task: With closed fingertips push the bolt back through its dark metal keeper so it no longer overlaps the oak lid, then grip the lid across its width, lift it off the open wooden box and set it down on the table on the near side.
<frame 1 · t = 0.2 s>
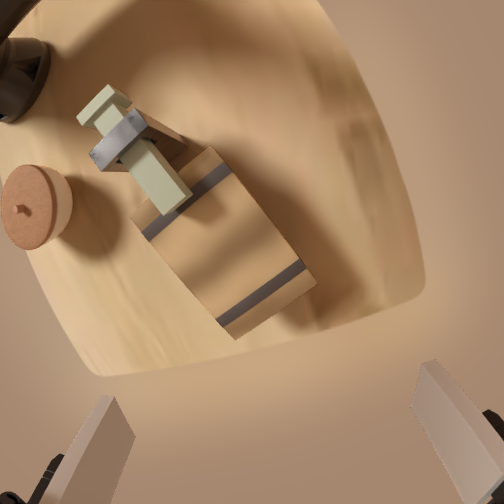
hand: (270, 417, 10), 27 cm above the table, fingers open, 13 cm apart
keeper: (167, 153, 33), on the table
lid: (225, 244, 29), point 7 cm above the table, touching open wooden box
lidded jar: (58, 201, 35), on the table
bolt: (136, 150, 22), point 11 cm above the table, slide at 0.0 cm
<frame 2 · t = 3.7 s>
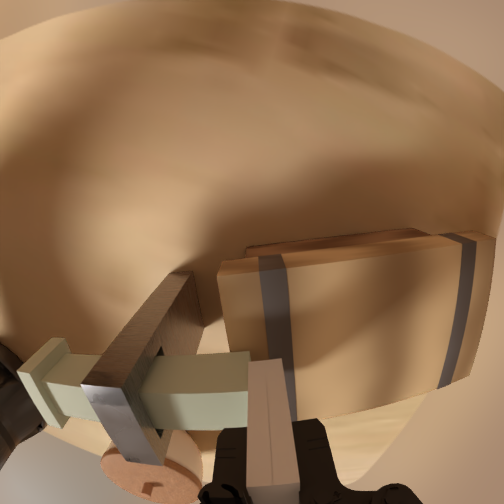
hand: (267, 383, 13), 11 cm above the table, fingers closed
keeper: (186, 301, 24), on the table
lid: (367, 323, 16), point 7 cm above the table, touching open wooden box
lidded jar: (164, 432, 28), on the table
bolt: (131, 390, 12), point 11 cm above the table, slide at 1.5 cm, touching gripper
open wooden box: (338, 284, 23), on the table
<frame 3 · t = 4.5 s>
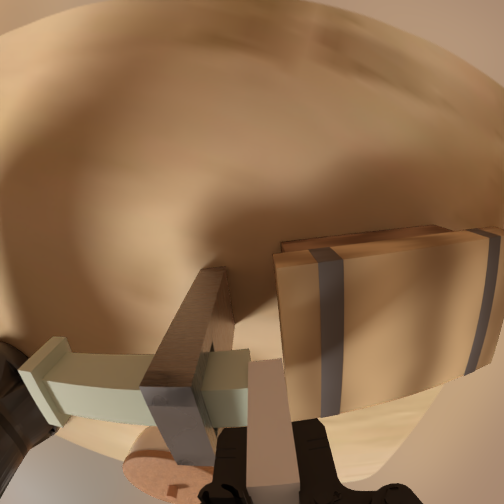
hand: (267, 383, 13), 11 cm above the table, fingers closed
keeper: (218, 298, 24), on the table
lid: (403, 314, 16), point 7 cm above the table, touching open wooden box
lidded jar: (185, 433, 28), on the table
bolt: (132, 388, 13), point 11 cm above the table, slide at 4.2 cm, touching gripper
open wooden box: (366, 278, 23), on the table
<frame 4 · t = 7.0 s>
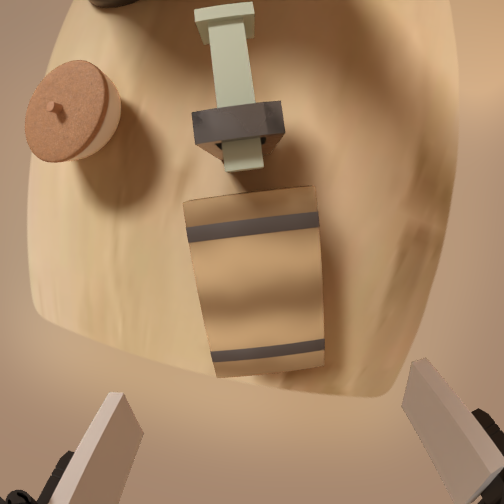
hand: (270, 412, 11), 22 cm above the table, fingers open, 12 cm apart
keeper: (244, 147, 29), on the table
lid: (260, 284, 26), point 7 cm above the table, touching open wooden box
lidded jar: (96, 120, 28), on the table
bolt: (234, 85, 17), point 11 cm above the table, slide at 4.2 cm
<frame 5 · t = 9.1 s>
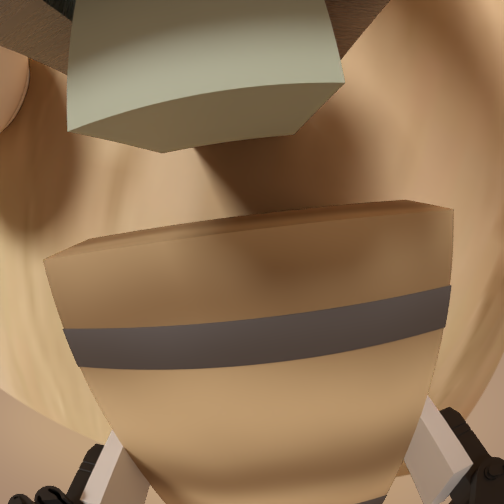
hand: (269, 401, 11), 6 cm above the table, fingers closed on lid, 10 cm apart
keeper: (236, 115, 14), on the table
lid: (270, 421, 10), point 7 cm above the table, touching gripper, open wooden box
lidded jar: (5, 94, 13), on the table
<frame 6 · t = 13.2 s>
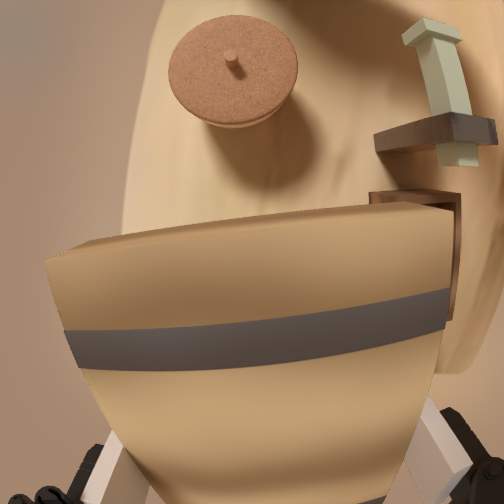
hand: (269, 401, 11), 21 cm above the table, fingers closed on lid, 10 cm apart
keeper: (394, 143, 28), on the table
lid: (270, 422, 10), point 22 cm above the table, touching gripper
lidded jar: (236, 90, 27), on the table
bolt: (447, 93, 17), point 11 cm above the table, slide at 4.2 cm
open wooden box: (400, 249, 31), on the table
when the fingers open (0 cm above the table, at t = 17.5 s): lid stays where it is, point 1 cm above the table.
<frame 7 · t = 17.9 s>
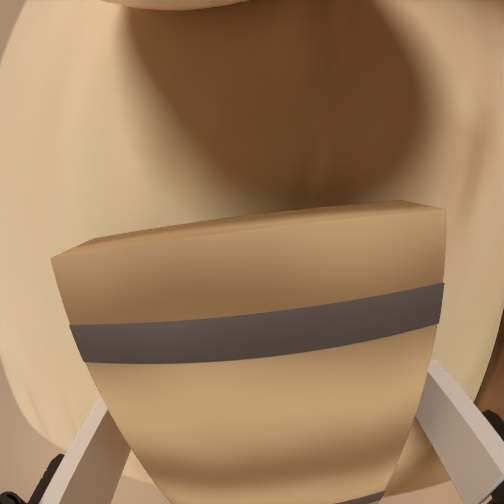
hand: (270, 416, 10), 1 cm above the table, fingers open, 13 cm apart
lid: (270, 416, 10), point 1 cm above the table
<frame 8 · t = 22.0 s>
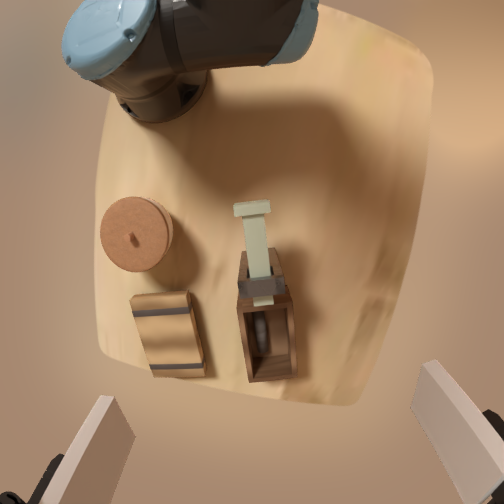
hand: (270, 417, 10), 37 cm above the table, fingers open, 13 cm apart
keeper: (258, 255, 47), on the table
lid: (171, 333, 49), point 1 cm above the table
lidded jar: (150, 226, 46), on the table
bolt: (257, 253, 35), point 11 cm above the table, slide at 4.2 cm
open wooden box: (267, 324, 50), on the table
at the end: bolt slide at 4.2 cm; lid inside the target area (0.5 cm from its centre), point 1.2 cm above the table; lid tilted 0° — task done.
